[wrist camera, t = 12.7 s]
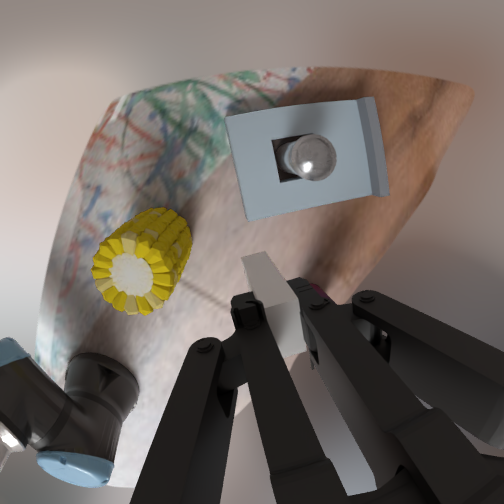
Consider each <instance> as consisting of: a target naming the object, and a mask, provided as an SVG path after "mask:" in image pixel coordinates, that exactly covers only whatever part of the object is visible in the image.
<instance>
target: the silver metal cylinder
mask: <svg viewBox="0 0 504 504" xmlns="http://www.w3.org/2000/svg"><path fill="white" fill-rule="evenodd" d="M275 159H276V163H277V165H278V167H279V168H280V169H281V170H282V171H284V172H286V173H291V174H297V175H299V176H300V177H301V178H303V179H306V180H309V181H320V180H323V179H325V178H327V177H328V176H330V174H331V173H332V172H333V170H334V169H335V166H336V162H337V155H336V151H335V148H334V146H333V145H332V143H331V142H330V141H329V140H328V139H327V138H325V137H323V136H321V135H317V134H310V135H305V136H303V137H301V138H299V139H298V140H297V141H293V142H289V143H285V144H283V145H281V146H280V147H279V148H278V150H277V152H276V156H275Z"/></svg>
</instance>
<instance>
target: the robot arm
mask: <svg viewBox="0 0 504 504" xmlns="http://www.w3.org/2000/svg"><path fill="white" fill-rule="evenodd" d="M241 260H242V264H243V268H244V272H245V276H246V280H247V284H248V288H249V292H247V293H243V294H240V295H236V296H233V298H232V300H231V306H232V308H231V316H232V319H233V322H234V326H235V329H236V330H235V332H234V334H233V335H232V336H231V337H229V338H228V339H226V340H224V341H222V342H221V341H220V340H219V339H217V338H214V337H207V338H202V339H200V340H198V341H196V342H195V343H193V344H192V345H191V347H190V348H189V350H188V353H187V355H186V358H185V360H184V362H183V365H182V367H181V370H180V372H179V375H178V377H177V380H176V382H175V385H174V388H173V390H172V393H171V395H170V398H169V400H168V403H167V405H166V408H165V410H164V413H163V416H162V418H161V421H160V423H159V426H158V428H157V431H156V434H155V436H154V439H153V442H152V444H151V447H150V449H149V452H148V455H147V457H146V460H145V463H144V465H143V468H142V471H141V473H140V476H139V479H138V482H137V484H136V487H135V490H134V493H133V495H132V498H131V501H130V504H220V499H221V493H222V487H223V481H224V475H225V469H226V463H227V457H228V450H229V444H230V438H231V431H232V426H233V419H234V413H235V407H236V401H237V394H238V388H237V387H239V386H241V385H243V384H245V383H247V382H248V387H249V391H250V395H251V399H252V403H253V407H254V412H255V416H256V420H257V424H258V428H259V432H260V436H261V440H262V444H263V447H264V451H265V455H266V459H267V463H268V467H269V471H270V480H271V484H272V488H273V492H274V496H275V499H276V502H277V504H504V457H497V456H491V455H485V454H480V453H479V452H478V451H477V449H476V448H475V447H474V446H473V445H472V443H471V442H470V441H469V440H468V439H467V438H466V436H465V435H464V434H463V433H462V432H461V431H460V429H459V428H458V427H457V426H456V425H455V424H454V422H455V423H456V424H458V425H459V426H461V427H462V428H463V429H465V430H466V431H468V432H469V433H471V434H472V435H474V436H475V437H477V438H478V439H480V440H482V441H483V442H485V443H487V444H489V445H491V446H494V447H496V448H499V449H503V450H504V352H502V351H501V350H499V349H497V348H494V347H492V346H490V345H488V344H486V343H484V342H482V341H480V340H478V339H476V338H474V337H472V336H470V335H468V334H466V333H464V332H462V331H460V330H458V329H455V328H453V327H451V326H449V325H447V324H445V323H443V322H441V321H439V320H437V319H435V318H432V317H430V316H428V315H426V314H424V313H422V312H419V311H418V310H416V309H413V308H411V307H409V306H407V305H405V304H402V303H400V302H398V301H396V300H394V299H392V298H390V297H388V296H386V295H384V294H381V293H379V292H376V291H372V290H365V291H361V292H358V293H356V294H355V295H353V297H352V303H350V304H343V305H336V304H335V303H334V302H333V301H332V300H331V299H329V298H325V297H321V296H320V295H319V294H318V293H317V292H316V290H315V289H314V288H313V287H312V286H311V285H310V283H309V282H308V281H307V280H305V279H303V278H300V277H299V278H295V279H292V280H288V281H286V280H285V279H284V277H283V276H282V275H281V273H280V272H279V270H278V269H277V267H276V266H275V264H274V263H273V262H272V260H271V259H270V257H269V256H268V255H267V253H266V252H265V251H264V252H260V253H256V254H253V255H249V256H245V257H241ZM382 330H383V331H385V332H386V333H387V337H386V336H384V335H382ZM305 342H306V344H307V346H308V348H309V354H310V361H311V368H312V370H313V369H314V365H315V367H316V369H317V371H318V373H319V374H320V376H321V378H322V380H323V382H324V384H325V386H326V387H327V389H328V391H329V393H330V395H331V397H332V398H333V400H334V402H335V404H336V406H337V407H338V409H339V411H340V413H341V415H342V417H343V419H344V420H345V422H346V424H347V425H348V428H349V430H350V431H351V433H352V435H353V437H354V439H355V441H356V442H357V444H358V446H359V448H360V450H361V452H362V453H363V455H364V457H365V459H366V461H367V463H368V464H369V466H370V468H371V470H372V472H373V474H374V477H375V482H376V487H377V490H375V491H371V492H367V493H361V494H356V495H352V496H347V493H346V491H345V489H344V487H343V485H342V483H341V481H340V478H339V476H338V474H337V472H336V470H335V467H334V465H333V463H332V462H331V460H330V459H329V458H327V457H326V456H325V454H324V452H323V450H322V447H321V445H320V443H319V440H318V438H317V436H316V434H315V431H314V429H313V427H312V424H311V422H310V420H309V418H308V415H307V413H306V411H305V408H304V406H303V404H302V401H301V399H300V397H299V395H298V392H297V390H296V387H295V385H294V383H293V380H292V378H291V376H290V373H289V371H288V369H287V366H286V364H285V362H284V359H283V358H285V357H288V356H292V355H295V354H298V353H301V352H304V351H306V344H305ZM415 395H416V396H417V397H419V398H420V399H421V400H423V401H424V402H426V403H427V404H429V405H430V406H431V407H433V408H432V409H427V408H425V407H424V406H423V404H422V403H421V402H420V401H419V400H418V398H417V397H416V396H415ZM138 396H139V387H138V384H137V382H136V380H135V378H134V377H133V375H132V374H131V373H130V372H129V371H128V370H127V369H126V368H125V367H124V366H123V365H121V364H120V363H118V362H117V361H115V360H113V359H111V358H109V357H107V356H104V355H100V354H96V353H83V354H80V355H77V356H76V357H74V358H73V359H72V360H71V362H70V364H69V366H68V367H67V370H66V373H65V387H64V391H63V390H62V389H61V388H60V387H59V386H58V385H57V384H56V383H55V382H54V381H53V380H52V379H51V378H50V377H49V376H48V375H47V374H46V373H45V372H44V371H43V370H42V368H41V367H40V366H39V365H38V364H37V363H36V362H35V361H34V360H33V359H32V358H31V355H30V354H29V353H27V352H26V351H25V350H24V349H23V348H22V347H21V346H20V345H19V344H18V343H17V341H16V340H14V339H13V338H10V337H6V338H3V339H1V340H0V472H1V470H2V468H3V466H4V464H5V462H6V460H7V458H8V456H9V454H10V453H11V452H17V451H24V449H25V448H26V446H27V444H29V445H30V446H31V447H33V448H34V449H35V450H37V452H38V453H37V454H36V459H37V463H38V464H39V465H40V466H41V468H42V469H43V470H45V471H46V472H47V473H49V474H51V475H52V476H54V477H56V478H58V479H60V480H63V481H65V482H68V483H71V484H74V485H78V486H82V487H91V488H96V487H101V486H104V485H106V484H107V483H108V482H109V479H110V476H111V473H112V470H113V468H114V460H115V455H116V450H117V445H118V441H119V436H120V432H121V427H122V423H123V422H124V421H125V419H126V418H127V416H128V414H129V413H130V412H131V411H132V410H133V409H134V408H135V406H136V404H137V401H138Z"/></svg>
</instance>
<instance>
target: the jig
mask: <svg viewBox="0 0 504 504" xmlns="http://www.w3.org/2000/svg"><path fill="white" fill-rule="evenodd" d="M224 121H225V126H226V130H227V135H228V139H229V144H230V148H231V153H232V157H233V162H234V166H235V171H236V175H237V180H238V184H239V189H240V193H241V198H242V202H243V207H244V211H245V216H246V219H247V220H248V222H250V221H254V220H258V219H263V218H267V217H271V216H276V215H280V214H285V213H289V212H293V211H298V210H302V209H307V208H312V207H316V206H321V205H325V204H330V203H335V202H340V201H344V200H349V199H354V198H359V197H364V196H369V195H374V196H378V197H384V196H389V195H390V194H389V184H388V176H387V168H386V161H385V154H384V147H383V141H382V135H381V129H380V124H379V119H378V114H377V109H376V104H375V100H374V97H363V98H360V99H357V100H345V101H331V102H320V103H310V104H301V105H293V106H286V107H279V108H272V109H266V110H260V111H254V112H248V113H243V114H238V115H233V116H228V117H225V120H224ZM310 134H317V135H321V136H323V137H325V138H327V139H328V140H329V141H330V142H331V143H332V145H333V146H334V148H335V151H336V155H337V162H336V166H335V169H334V170H333V172H332V173H331V174H330V176H328V177H327V178H325V179H323V180H320V181H309V180H306V179H303V178H301V177H295V178H290V179H285V180H279V175H278V170H277V165H276V160H275V155H274V151H273V146H272V141H271V140H276V139H282V138H288V137H294V136H301V135H310Z"/></svg>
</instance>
